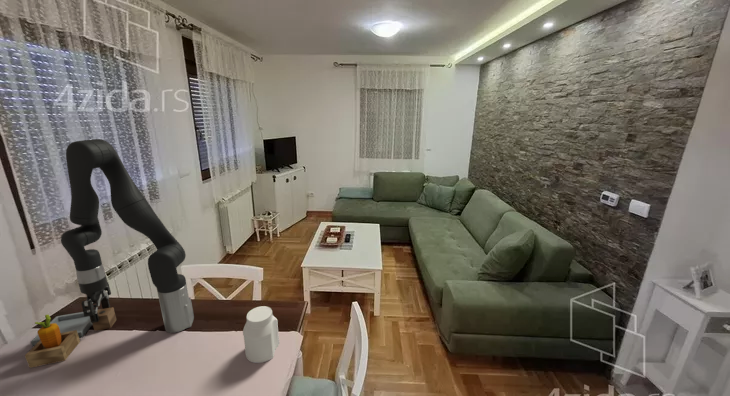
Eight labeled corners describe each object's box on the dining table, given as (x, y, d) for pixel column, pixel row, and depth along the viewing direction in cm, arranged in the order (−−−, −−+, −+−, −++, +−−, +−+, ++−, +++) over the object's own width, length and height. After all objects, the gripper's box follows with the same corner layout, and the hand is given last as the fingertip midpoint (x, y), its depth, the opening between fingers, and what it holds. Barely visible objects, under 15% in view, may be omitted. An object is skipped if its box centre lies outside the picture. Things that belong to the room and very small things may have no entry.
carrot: (53, 361, 95) (40, 323, 91) (41, 358, 96) (28, 321, 92) (70, 349, 100) (59, 313, 96) (59, 347, 101) (47, 311, 96)
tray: (101, 313, 118) (100, 309, 118) (82, 337, 106) (81, 332, 105) (57, 321, 114) (56, 316, 113) (32, 346, 101) (30, 341, 100)
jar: (256, 337, 107) (252, 302, 103) (281, 338, 106) (279, 303, 102) (242, 362, 95) (237, 324, 91) (270, 364, 95) (266, 326, 91)
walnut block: (116, 319, 115) (113, 306, 113) (110, 328, 110) (107, 314, 109) (101, 322, 113) (97, 309, 112) (94, 331, 109) (90, 317, 107)
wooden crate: (80, 341, 103) (76, 330, 102) (65, 360, 95) (61, 348, 94) (47, 347, 100) (43, 336, 99) (29, 367, 92) (24, 355, 91)
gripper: (94, 286, 101) (104, 324, 105) (113, 266, 114) (121, 302, 118) (67, 289, 98) (78, 329, 103) (89, 269, 111) (98, 305, 115)
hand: (101, 314), depth 110 cm, fingers open, 8 cm apart
